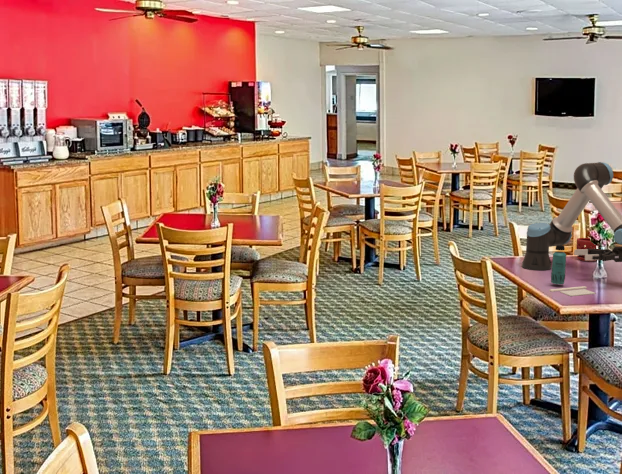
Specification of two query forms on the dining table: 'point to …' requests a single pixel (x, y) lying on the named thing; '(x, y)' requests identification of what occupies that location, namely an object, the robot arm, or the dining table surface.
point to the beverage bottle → (558, 266)
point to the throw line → (567, 288)
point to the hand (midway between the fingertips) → (579, 254)
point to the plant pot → (581, 245)
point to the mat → (577, 292)
